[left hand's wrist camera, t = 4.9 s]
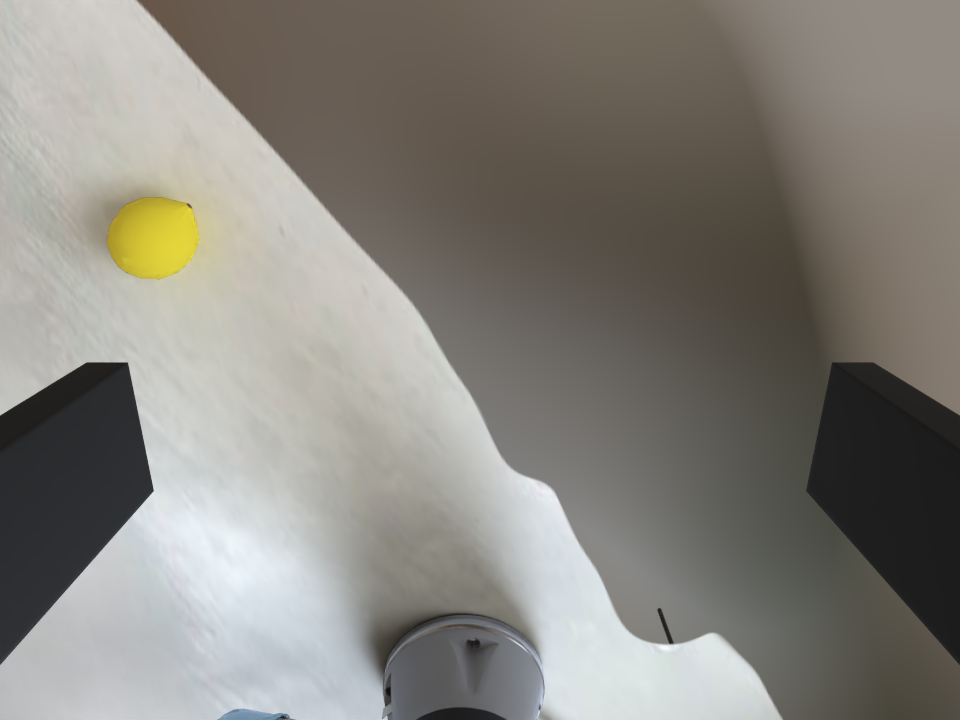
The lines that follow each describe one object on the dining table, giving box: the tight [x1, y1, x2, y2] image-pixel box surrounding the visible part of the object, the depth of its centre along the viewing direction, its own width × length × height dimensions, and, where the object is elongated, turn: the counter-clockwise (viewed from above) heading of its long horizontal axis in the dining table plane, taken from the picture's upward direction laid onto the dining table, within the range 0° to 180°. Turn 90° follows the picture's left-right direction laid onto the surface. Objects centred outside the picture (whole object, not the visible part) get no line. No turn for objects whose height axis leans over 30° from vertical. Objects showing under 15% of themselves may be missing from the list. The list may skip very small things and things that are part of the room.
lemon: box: [107, 197, 199, 279], centre depth 45 cm, size 7×5×5 cm
